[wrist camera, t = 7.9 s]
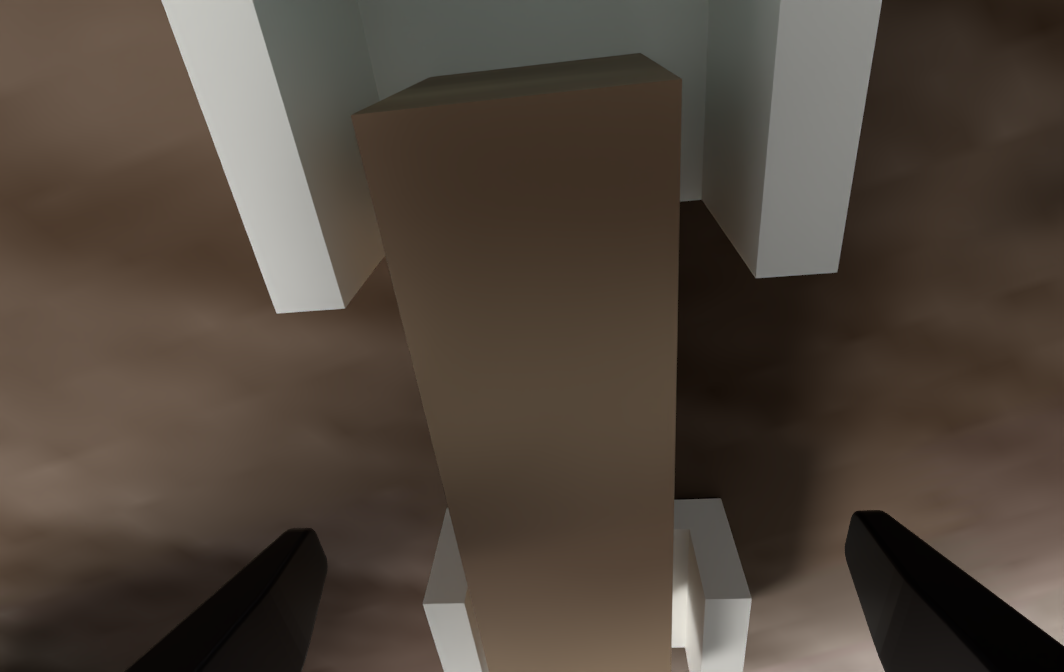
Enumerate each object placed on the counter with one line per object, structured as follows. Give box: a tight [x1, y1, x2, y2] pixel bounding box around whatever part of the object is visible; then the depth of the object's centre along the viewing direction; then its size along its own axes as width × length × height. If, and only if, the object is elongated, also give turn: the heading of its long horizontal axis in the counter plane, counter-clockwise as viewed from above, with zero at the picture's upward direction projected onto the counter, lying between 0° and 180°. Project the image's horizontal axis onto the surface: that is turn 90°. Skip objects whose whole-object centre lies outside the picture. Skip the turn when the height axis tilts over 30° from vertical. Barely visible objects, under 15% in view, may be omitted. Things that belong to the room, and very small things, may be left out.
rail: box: [351, 53, 682, 672], centre depth 11 cm, size 14×4×4 cm, turn 6°
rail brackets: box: [162, 0, 882, 672], centre depth 11 cm, size 20×8×6 cm, turn 6°
